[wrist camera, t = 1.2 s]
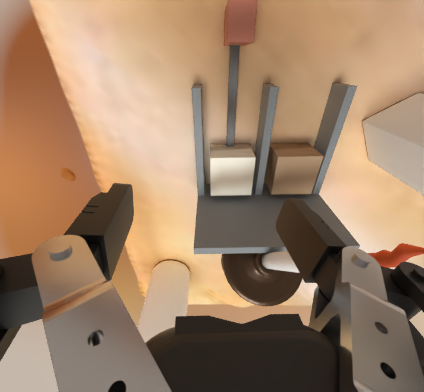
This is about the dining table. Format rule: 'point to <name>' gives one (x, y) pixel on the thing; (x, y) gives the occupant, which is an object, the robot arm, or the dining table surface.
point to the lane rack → (263, 184)
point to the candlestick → (285, 272)
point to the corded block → (234, 109)
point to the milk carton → (399, 141)
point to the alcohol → (164, 298)
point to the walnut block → (292, 168)
